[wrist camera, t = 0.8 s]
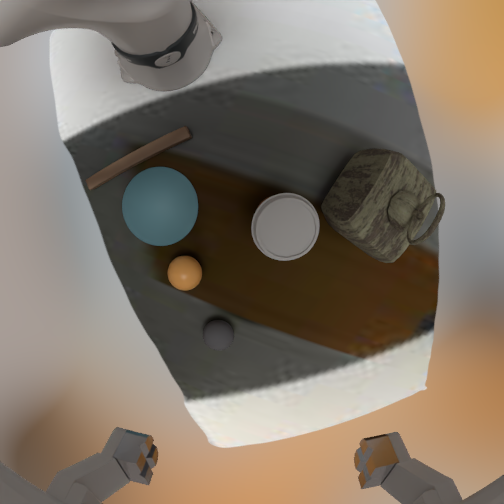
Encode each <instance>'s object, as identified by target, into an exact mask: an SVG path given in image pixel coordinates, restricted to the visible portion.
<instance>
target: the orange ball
mask: <svg viewBox="0 0 504 504" xmlns="http://www.w3.org/2000/svg"><path fill="white" fill-rule="evenodd" d="M168 278H169V281H170V282H171V284H172V285H173V286H174V287H175V288H177V289H180V290H191V289H193V288H195V287H196V286H197V285H198V284H199V282H200V280H201V278H202V269H201V266H200V264H199V263H198V261H197V260H196V259H194V258H193V257H190V256H179V257H177V258H175V259H174V260H173V261H172V262H171V263H170V265H169V268H168Z"/></svg>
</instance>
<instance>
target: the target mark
mask: <svg viewBox="0 0 504 504" xmlns="http://www.w3.org/2000/svg"><path fill="white" fill-rule="evenodd" d="M122 210H123V216H124V219H125V222H126V224H127V226H128V228H129V229H130V231H131V232H132V233H133V234H134V235H135V236H136V237H137V238H139V239H140V240H142V241H143V242H146V243H148V244H151V245H156V246H165V245H170V244H173V243H176V242H178V241H179V240H181V239H182V238H184V237H185V236H186V235H187V234H188V233H189V232H190V230H191V229H192V227H193V225H194V223H195V221H196V218H197V214H198V199H197V195H196V192H195V190H194V188H193V186H192V184H191V183H190V181H189V180H188V179H187V178H186V177H185V176H184V175H183V174H181V173H180V172H178V171H176V170H174V169H171V168H167V167H152V168H149V169H146V170H144V171H142V172H140V173H139V174H137V175H136V176H135V177H134V178H133V179H132V180H131V181H130V183H129V184H128V186H127V188H126V190H125V193H124V196H123V201H122Z"/></svg>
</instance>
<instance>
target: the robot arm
mask: <svg viewBox="0 0 504 504" xmlns="http://www.w3.org/2000/svg"><path fill="white" fill-rule="evenodd" d="M63 28H82V29H90V30H94V31H97V32H99V33H100V34H102V35H103V36H105V37H106V38H107V39H109V40H110V41H111V42H112V45H113V47H114V48H115V55H116V56H119V60H118V64H119V66H120V67H121V77H122V79H123V81H124V82H126V83H139V84H141V85H143V86H145V87H147V88H149V89H152V90H156V91H170V90H175V89H179V88H182V87H184V86H186V85H188V84H190V83H192V82H193V81H194V80H196V79H197V78H198V77H199V76H200V75H201V74H202V73H203V72H204V70H205V69H206V68H207V66H208V64H209V61H210V58H211V55H212V52H213V50H214V49H215V48H216V47H217V46H218V45H219V43H220V42H221V40H222V37H221V34H220V33H219V32H218V31H217V30H216V28H215V27H214V26H213V25H212V24H211V23H210V21H209V20H208V19H207V18H206V17H205V16H204V15H203V13H202V12H201V11H200V10H199V9H198V8H197V7H196V6H195V5H194V4H193V3H192V1H191V0H0V47H3V46H8V45H11V44H13V43H15V42H17V41H19V40H21V39H23V38H25V37H28V36H31V35H34V34H37V33H39V32H43V31H48V30H54V29H63ZM211 33H213V35H212V34H211ZM153 441H154V440H153V437H152V436H151V435H147V434H142V433H138V432H134V431H130V430H126V429H123V428H119V427H116V428H115V429H114V430H113V432H112V434H111V436H110V438H109V439H108V441H107V443H106V445H105V447H104V448H103V451H102V452H101V454H100V453H96V454H94V455H92V456H90V457H88V458H86V459H85V460H82V461H80V462H78V463H76V464H74V465H72V466H70V467H68V468H65V469H63V470H61V471H59V472H57V474H56V476H55V477H54V479H53V481H52V482H51V484H50V486H49V488H48V489H47V491H46V492H44V491H43V490H41V489H39V488H38V487H36V486H35V485H33V484H32V483H30V482H28V481H27V480H25V479H24V478H23V477H21V476H20V475H18V474H17V473H15V472H14V471H13V470H11V469H10V468H9V467H7V466H6V465H4V464H3V463H2V462H1V461H0V504H102V503H101V502H102V501H104V500H105V499H107V498H108V497H110V496H111V495H112V494H114V493H115V492H117V491H118V490H119V489H121V488H122V487H123V486H125V485H126V484H128V483H129V482H130V481H134V482H138V483H142V484H146V485H149V484H150V481H151V478H152V475H153V472H152V470H151V468H153V467H154V466H156V464H157V460H158V451H157V447H156V446H155V445H154V444H153ZM360 446H361V447H360V448H359V449H357V450H356V453H355V457H354V463H355V468H356V469H357V470H358V471H359V472H361V473H360V475H359V477H358V479H359V482H360V485H361V489H364V488H369V487H374V486H379V485H381V487H382V488H383V489H384V490H386V491H387V492H388V493H389V494H391V495H392V496H393V497H394V498H395V499H397V500H398V501H399V502H400V503H401V504H504V475H502V476H501V477H500V478H498V479H496V480H495V481H494V482H492V483H490V484H489V485H487V486H486V487H484V488H483V489H481V490H479V491H478V492H476V493H475V494H473V495H471V496H469V497H468V498H466V499H464V500H462V498H461V496H460V494H459V492H458V490H457V487H456V486H455V484H454V481H453V480H452V479H451V478H449V477H447V476H445V475H443V474H441V473H439V472H438V471H436V470H434V469H432V468H430V467H428V466H427V465H425V464H423V463H422V462H420V461H418V460H416V459H414V458H413V459H411V458H410V455H409V454H408V451H407V449H406V447H405V445H404V443H403V441H402V439H401V436H400V434H399V433H398V432H393V433H389V434H383V435H379V436H374V437H370V438H364V439H362V440H361V442H360Z"/></svg>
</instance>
